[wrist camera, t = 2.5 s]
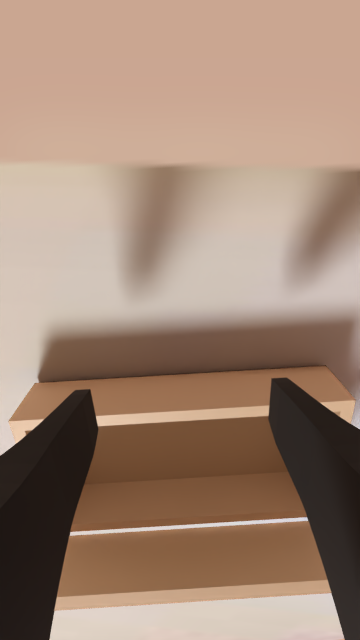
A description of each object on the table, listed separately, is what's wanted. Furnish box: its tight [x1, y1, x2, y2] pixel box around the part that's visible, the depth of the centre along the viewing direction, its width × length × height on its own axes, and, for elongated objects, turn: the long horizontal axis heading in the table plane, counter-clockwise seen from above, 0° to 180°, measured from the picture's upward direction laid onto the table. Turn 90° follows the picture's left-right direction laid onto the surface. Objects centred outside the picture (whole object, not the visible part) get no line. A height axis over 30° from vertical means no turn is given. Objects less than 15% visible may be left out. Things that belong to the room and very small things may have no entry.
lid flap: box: [54, 521, 331, 611], centre depth 15 cm, size 4×15×1 cm
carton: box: [8, 366, 356, 532], centre depth 17 cm, size 8×16×3 cm, turn 93°
